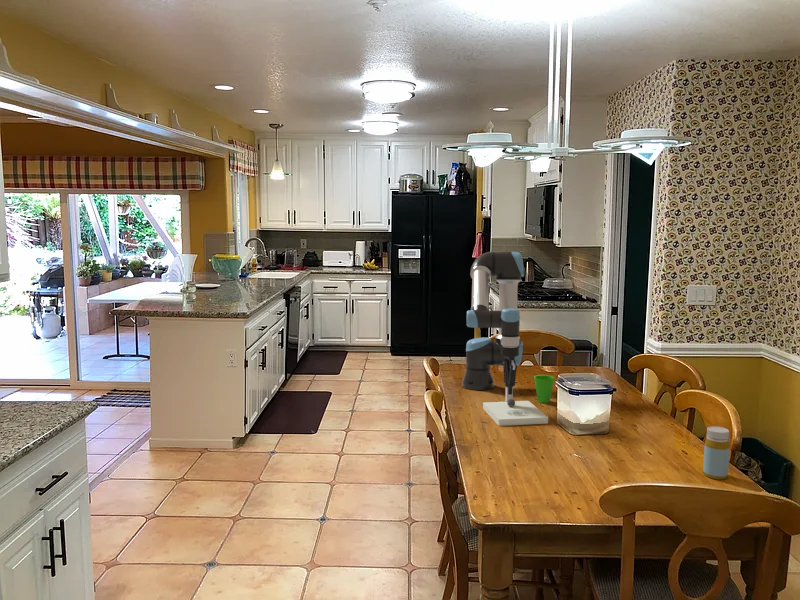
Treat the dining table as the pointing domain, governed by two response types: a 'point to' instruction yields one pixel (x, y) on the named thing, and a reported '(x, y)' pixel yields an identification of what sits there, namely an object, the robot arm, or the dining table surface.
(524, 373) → the dining table surface
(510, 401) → the ball
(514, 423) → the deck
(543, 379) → the cup
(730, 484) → the dining table surface
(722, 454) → the bottle
